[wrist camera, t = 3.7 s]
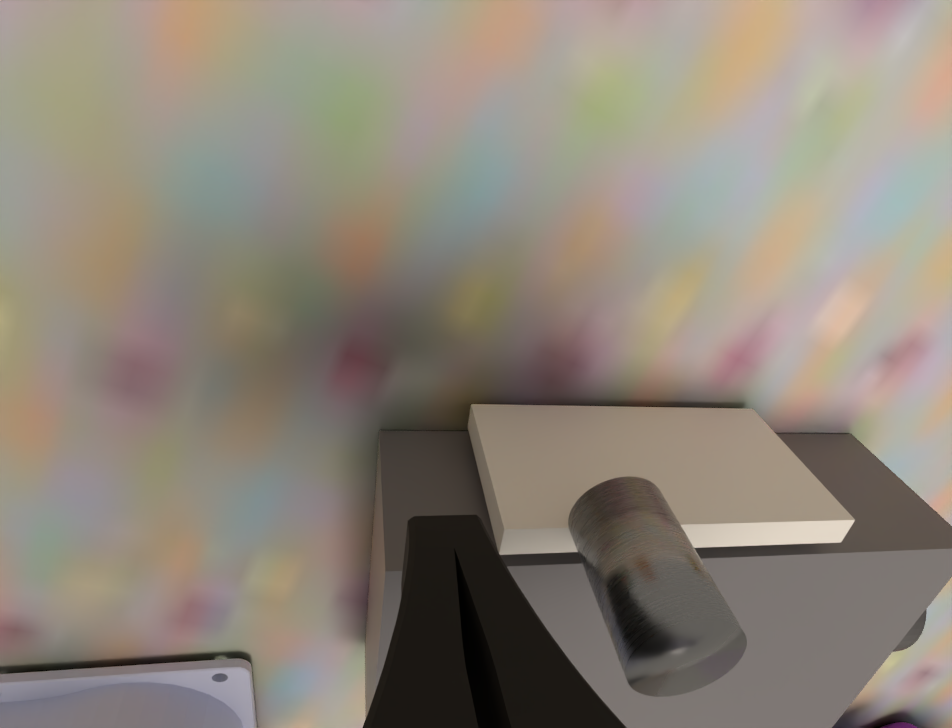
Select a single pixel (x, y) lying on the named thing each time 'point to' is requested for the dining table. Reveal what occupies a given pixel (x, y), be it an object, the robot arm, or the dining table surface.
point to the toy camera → (900, 725)
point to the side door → (649, 517)
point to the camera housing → (732, 569)
